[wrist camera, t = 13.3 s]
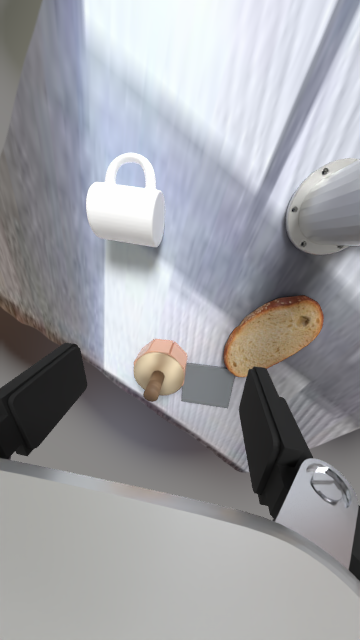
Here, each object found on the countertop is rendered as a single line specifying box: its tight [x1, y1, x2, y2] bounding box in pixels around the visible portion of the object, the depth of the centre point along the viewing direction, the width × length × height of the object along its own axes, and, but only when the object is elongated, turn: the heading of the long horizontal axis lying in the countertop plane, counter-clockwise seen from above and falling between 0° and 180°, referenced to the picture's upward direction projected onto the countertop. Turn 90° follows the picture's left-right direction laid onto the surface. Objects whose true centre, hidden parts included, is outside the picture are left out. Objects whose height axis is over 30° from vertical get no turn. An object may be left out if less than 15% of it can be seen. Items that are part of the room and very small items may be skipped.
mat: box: [182, 363, 235, 408], centre depth 45 cm, size 12×12×1 cm
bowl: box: [134, 339, 187, 386], centre depth 42 cm, size 11×11×5 cm
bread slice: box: [224, 295, 324, 377], centre depth 36 cm, size 18×18×4 cm
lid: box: [134, 352, 184, 402], centre depth 37 cm, size 11×11×6 cm
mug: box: [86, 153, 165, 247], centre depth 29 cm, size 12×10×8 cm
